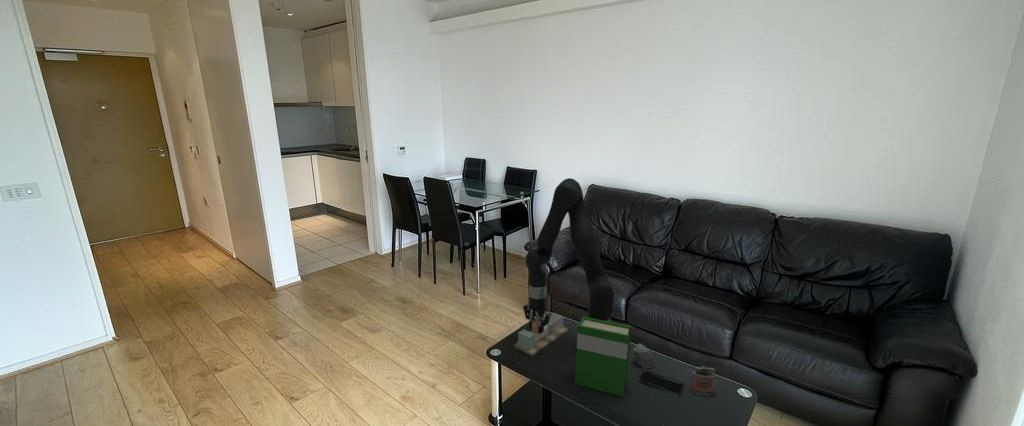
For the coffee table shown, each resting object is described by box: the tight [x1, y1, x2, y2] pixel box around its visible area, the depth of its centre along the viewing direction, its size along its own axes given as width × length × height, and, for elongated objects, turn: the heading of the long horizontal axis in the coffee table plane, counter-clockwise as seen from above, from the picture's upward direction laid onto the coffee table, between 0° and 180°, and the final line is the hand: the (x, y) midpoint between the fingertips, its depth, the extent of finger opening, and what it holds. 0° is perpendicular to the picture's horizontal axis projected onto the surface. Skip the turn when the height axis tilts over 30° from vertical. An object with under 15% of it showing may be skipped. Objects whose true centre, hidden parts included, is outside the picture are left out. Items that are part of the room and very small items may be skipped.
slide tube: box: [530, 317, 550, 342], centre depth 185 cm, size 17×4×8 cm, turn 140°
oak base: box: [513, 326, 569, 357], centre depth 187 cm, size 27×10×1 cm, turn 140°
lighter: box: [689, 365, 717, 396], centre depth 153 cm, size 8×3×10 cm, turn 80°
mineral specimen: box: [632, 342, 655, 370], centre depth 168 cm, size 7×9×8 cm
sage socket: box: [517, 329, 535, 351], centre depth 178 cm, size 4×6×6 cm, turn 50°
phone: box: [638, 370, 685, 397], centre depth 158 cm, size 8×1×15 cm
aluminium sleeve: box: [541, 312, 565, 336], centre depth 193 cm, size 10×5×5 cm, turn 140°
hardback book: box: [574, 316, 632, 398], centre depth 154 cm, size 18×7×24 cm, turn 67°
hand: (536, 330), depth 183 cm, fingers closed on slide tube, 4 cm apart
